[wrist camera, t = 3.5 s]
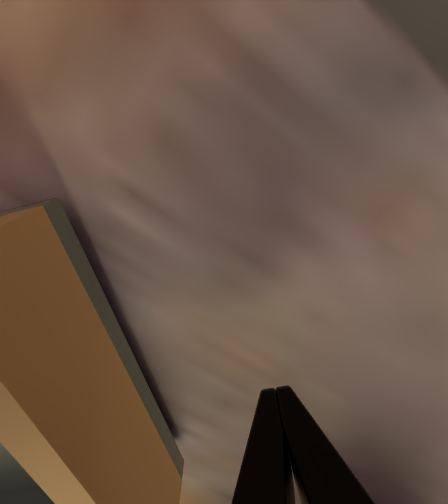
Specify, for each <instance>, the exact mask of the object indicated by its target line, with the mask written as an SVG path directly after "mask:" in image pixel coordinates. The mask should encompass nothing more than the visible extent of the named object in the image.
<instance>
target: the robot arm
mask: <svg viewBox="0 0 448 504" xmlns="http://www.w3.org/2000/svg"><path fill="white" fill-rule="evenodd" d="M290 462H291V463H290ZM291 467H292V469H291ZM292 471H293V475H294V479H295V482H296V486H297V489H298V492H299V495H300V499H301V502H302V504H375V503H374V501H373V500H372V499H371V497H370V496H369V495H368V493H367V492H366V490H365V489H364V488H363V486H362V485H361V484H360V482H359V481H358V479H357V478H356V477H355V475H354V474H353V472H352V471H351V470H350V468H349V467H348V466H347V464H346V463H345V461H344V460H343V459H342V457H341V456H340V455H339V453H338V452H337V450H336V449H335V448H334V446H333V445H332V444H331V442H330V441H329V439H328V438H327V437H326V435H325V434H324V432H323V431H322V430H321V428H320V427H319V426H318V424H317V423H316V421H315V420H314V419H313V417H312V416H311V415H310V413H309V412H308V410H307V409H306V408H305V406H304V405H303V404H302V402H301V401H300V399H299V398H298V397H297V395H296V394H295V392H294V391H293V390H292V388H291V387H290V386H281V387H277V388H276V390H275V389H274V388H269V389H263V390H261V392H260V395H259V399H258V403H257V407H256V411H255V415H254V419H253V423H252V426H251V430H250V434H249V438H248V442H247V446H246V450H245V453H244V457H243V461H242V465H241V469H240V473H239V477H238V480H237V484H236V488H235V492H234V496H233V500H232V504H295V493H294V483H293V475H292Z"/></svg>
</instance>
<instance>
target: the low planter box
mask: <svg viewBox="0 0 448 504" xmlns="http://www.w3.org/2000/svg"><path fill="white" fill-rule="evenodd" d="M183 465H184V459H183V457H182V455H181V453H180V451H179V449H178V447H177V445H176V443H175V441H174V438H173V436H172V434H171V432H170V430H169V428H168V426H167V424H166V422H165V420H164V418H163V416H162V413H161V411H160V409H159V407H158V405H157V403H156V401H155V399H154V397H153V395H152V393H151V390H150V388H149V386H148V384H147V382H146V380H145V378H144V376H143V374H142V372H141V370H140V367H139V365H138V363H137V361H136V359H135V357H134V355H133V353H132V351H131V349H130V347H129V344H128V342H127V340H126V338H125V336H124V334H123V332H122V330H121V328H120V326H119V324H118V321H117V319H116V317H115V315H114V313H113V311H112V309H111V307H110V305H109V303H108V301H107V298H106V296H105V294H104V292H103V290H102V288H101V286H100V284H99V282H98V280H97V278H96V276H95V273H94V271H93V269H92V267H91V265H90V263H89V261H88V259H87V257H86V255H85V253H84V250H83V248H82V246H81V244H80V242H79V240H78V238H77V236H76V234H75V232H74V230H73V227H72V225H71V223H70V221H69V219H68V217H67V215H66V213H65V211H64V209H63V207H62V204H61V202H60V200H59V198H56V199H52V200H48V201H43V202H39V203H35V204H31V205H27V206H23V207H18V208H14V209H10V210H6V211H2V212H0V504H179V500H180V492H181V483H182V474H183Z"/></svg>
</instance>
